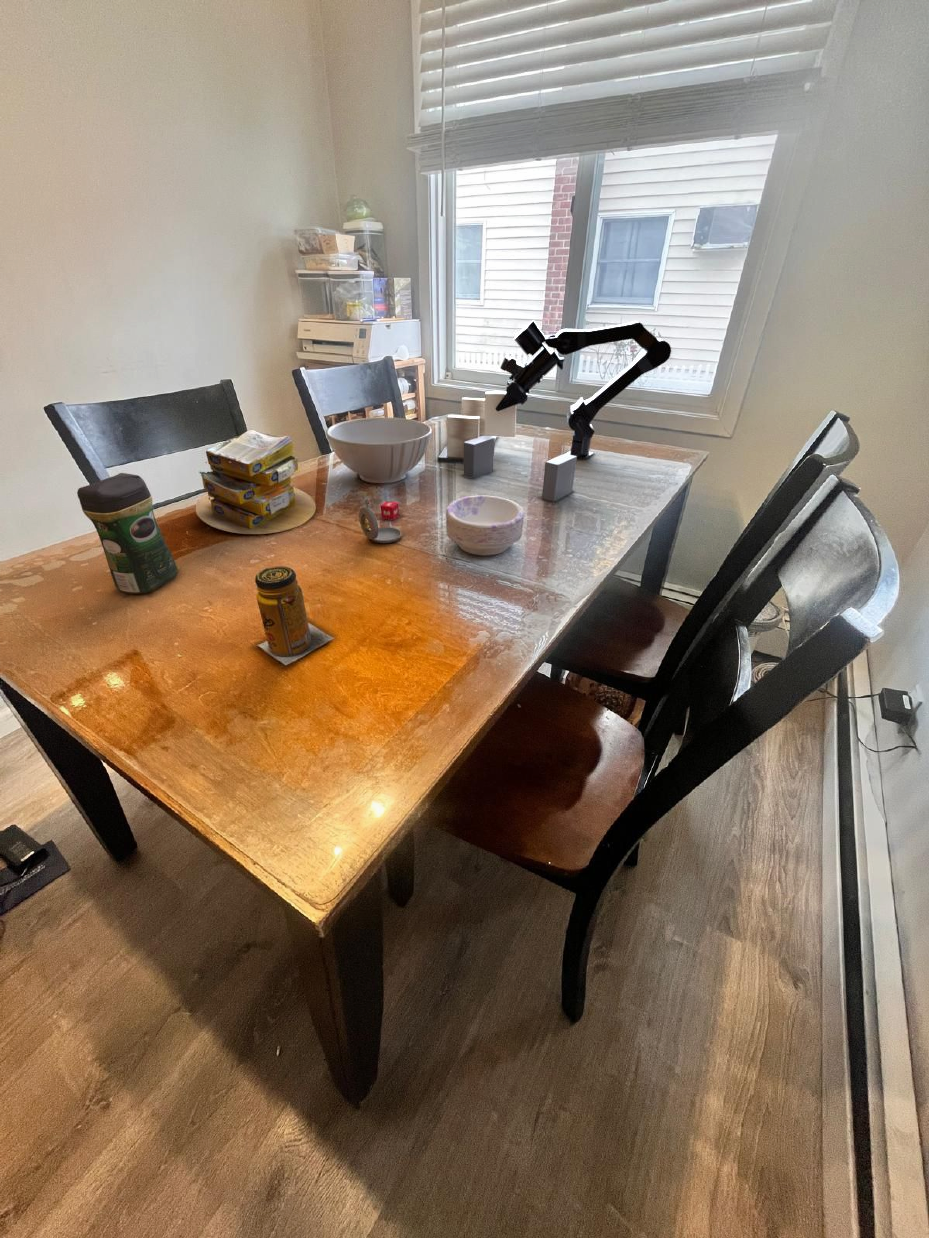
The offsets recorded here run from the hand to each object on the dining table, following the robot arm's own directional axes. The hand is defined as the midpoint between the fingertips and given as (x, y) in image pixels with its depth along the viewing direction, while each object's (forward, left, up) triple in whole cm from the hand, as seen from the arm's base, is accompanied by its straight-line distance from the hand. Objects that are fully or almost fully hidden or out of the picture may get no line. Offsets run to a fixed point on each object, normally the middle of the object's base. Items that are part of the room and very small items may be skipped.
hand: (496, 408), depth 152 cm
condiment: (+102, +28, -13) cm, 106 cm away
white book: (-1, +1, -8) cm, 8 cm away
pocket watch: (+68, +14, -13) cm, 70 cm away
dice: (+58, +8, -13) cm, 60 cm away
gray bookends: (+22, +20, -13) cm, 32 cm away
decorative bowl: (+38, -12, -13) cm, 42 cm away
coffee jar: (+105, -7, -13) cm, 106 cm away
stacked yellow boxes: (+74, -17, -13) cm, 77 cm away
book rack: (+2, -8, -13) cm, 15 cm away
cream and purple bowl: (+58, +33, -13) cm, 67 cm away
